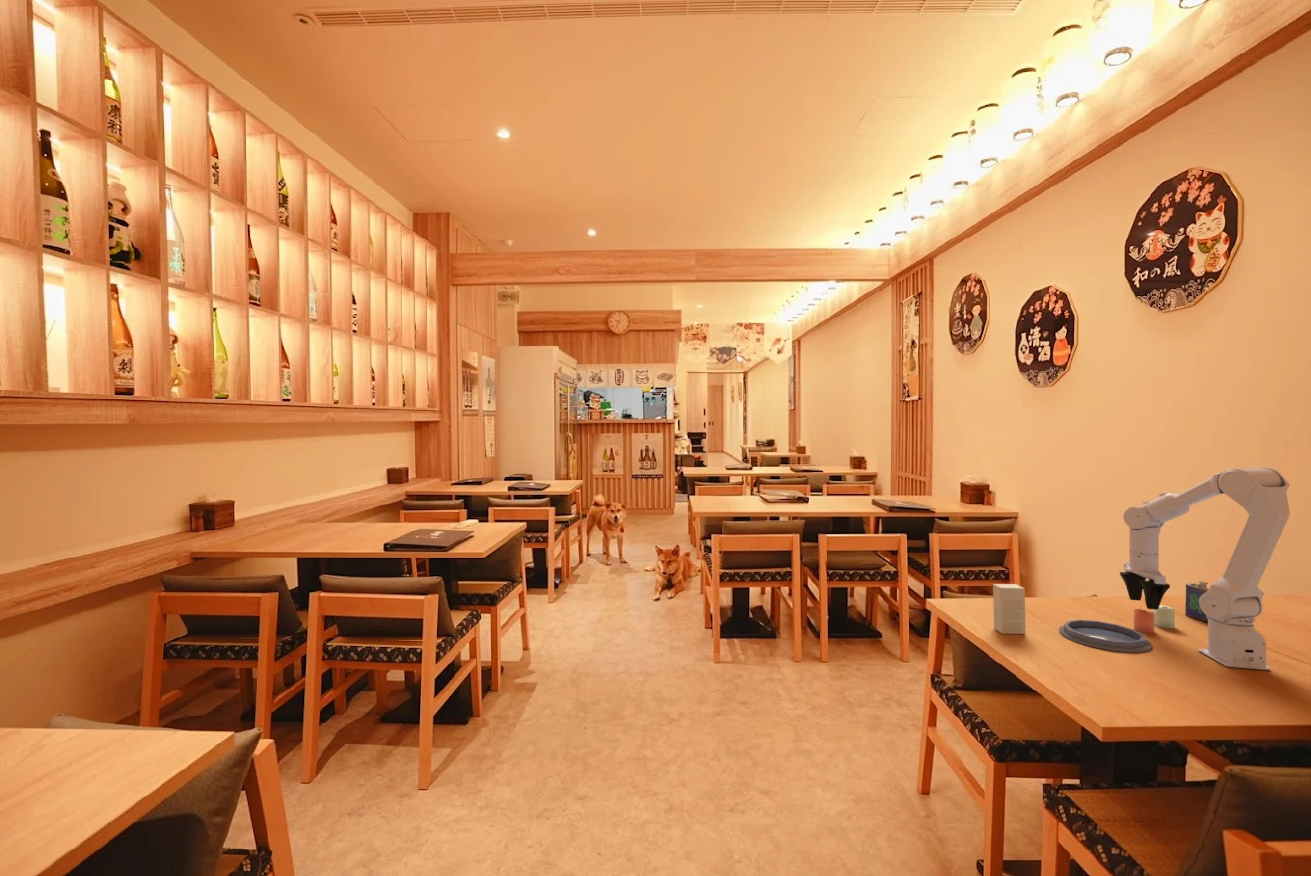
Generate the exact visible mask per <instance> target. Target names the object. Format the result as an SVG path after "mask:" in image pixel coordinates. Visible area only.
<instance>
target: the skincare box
mask: <svg viewBox="0 0 1311 876" xmlns="http://www.w3.org/2000/svg"><path fill="white" fill-rule="evenodd" d="M992 592H993V593H992V596H993V598H992V599H993V600H992V601H993V629H994V628H995V629H994V630H996V631H997V630H998V631H997V632H999V633H1000V634H1001V635H1002V634H1003V635H1004V634H1005V635H1006V634H1007V635H1008V634H1010V635H1011V634H1012V635H1025V634H1026V632H1027V630H1026V589H1025V587H1023V586H1020V585H1019V584H1016V583H993V584H992Z"/></svg>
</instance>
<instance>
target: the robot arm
mask: <svg viewBox="0 0 1311 876" xmlns="http://www.w3.org/2000/svg"><path fill="white" fill-rule="evenodd" d="M1290 485H1291V484H1290V483H1289V482H1288V481H1287V479H1286V478H1285V477H1284V476H1283V474H1281V472H1279V471H1278V470H1277V469H1274V468H1271V467H1258V468H1237V467H1235V468H1229V469H1225V470H1224V471H1222V472H1218V473H1214V474H1213V475H1212V476H1210V477H1209V478H1206V479H1205V480H1203V481H1202V482H1199V483H1198V484H1195V485H1193V486H1191V487H1189V488H1187V489H1186V490H1184V491H1182V492H1180V493H1176V492H1162V493H1159V494H1158V496H1159V497H1158V498H1157V497H1156V498H1155V499H1153V500H1151V501H1144V502H1142V505H1141V506H1136V505H1135V506H1130V507H1128V508H1127V509H1126V510H1125V511H1124V513H1123V521H1124V523H1125V525H1126V526H1127V527H1128V528H1129V535H1128V536H1129V537H1128V539H1129V541H1128V543H1129V545H1128V547H1129V549H1128V550H1129V560H1128V561H1129V562H1123V570H1124V571H1120V572H1119V575H1120V577H1121V578H1122V580H1123V582H1124V584H1125V587H1126V591H1127V593H1128V594H1127V595H1128V596H1129V600H1131V601H1141V600H1142V597H1143V594H1144V601H1145V606H1146V609H1147V610H1154V609H1156V610H1158V608H1159V606H1160V605H1161V603H1162V599H1163V597H1164V595H1165V594H1166V592H1167V591H1168V590H1169V589H1170V588H1171V584H1169V583H1167V581H1166V580H1167V577H1166V576H1164V574H1162V572H1161V571H1160V570H1159V569H1160V568H1159V567H1160V566H1159V564H1160V563H1159V559H1160V558H1159V556H1160V555H1159V549H1160V548H1159V546H1160V545H1159V543H1160V542H1159V541H1160V540H1159V539H1160V538H1159V537H1160V536H1159V535H1160V534H1161V529H1162V527H1164V525H1165V524H1166V523H1167V522H1169V521H1171V520H1174V519H1177V518H1178V517H1181V516H1184V515H1186V514H1188V513H1189V511H1190V506H1193V505H1196V504H1199V503H1201V502H1204V501H1207V500H1209V499H1212V498H1214V497H1216V496H1219V495H1223V494H1224V495H1226V496H1227V497H1229V498H1230V499H1231V500H1232V501H1234V502H1235V503H1236V504H1237V505H1239V506H1240V507H1242V508H1243V509H1244V510H1245V511H1246V512H1247V514H1248V518H1247V519H1246V522H1245V524H1244V527H1243V528H1242V531H1241V534H1240V536H1239V538H1238V541H1237V543H1236V546H1235V548H1234V550H1233V553H1232V555H1231V557H1230V559H1229V562H1228V564H1227V566H1226V568H1225V571H1224V573H1223V576H1222V577H1220V578H1219V579H1217V580H1215V582H1213V583H1211V584H1210V587H1209V588H1208V589H1209V590H1208V591H1207V592H1205V593H1204V594H1202V595H1201V597H1200V599H1199V605H1200V608H1201V609H1202V611H1203V612H1204V613H1205V614H1206V618H1208V623H1207V648H1197V651H1198V652H1200V653H1201V654H1203V655H1206V656H1207V657H1209V658H1211V659H1212V660H1214V661H1215V662H1217V663H1219V664H1221V665H1223V666H1225V667H1229V668H1239V669H1240V668H1241V669H1250V670H1251V669H1252V670H1264V671H1272V667H1270V666H1268V665H1267V642H1266V639H1265V637H1264V636H1263V634H1261V633H1260V632H1258V630H1256V627H1255V624H1254V623H1255V622H1256V618H1257V617H1259V616H1260V615H1261V614H1262V612H1263V609H1264V608H1263V607H1264V606H1263V596H1264V595H1265V594H1264V592H1263V590H1262V589H1261V588H1260V587H1259V584H1260V581H1261V580H1262V577H1263V575H1264V572H1265V571H1266V568H1267V566H1268V564H1269V561H1270V560H1271V557H1272V555H1273V553H1274V551H1275V549H1276V547H1277V545H1278V542H1279V540H1280V537H1281V536H1282V534H1283V532H1284V530H1285V527H1286V525H1287V522H1288V520H1289V518H1290V514H1291V512H1290V507H1289V506H1290V505H1289V500H1288V495H1287V493H1288V491H1289V488H1290ZM1147 579H1148V580H1147Z"/></svg>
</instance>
